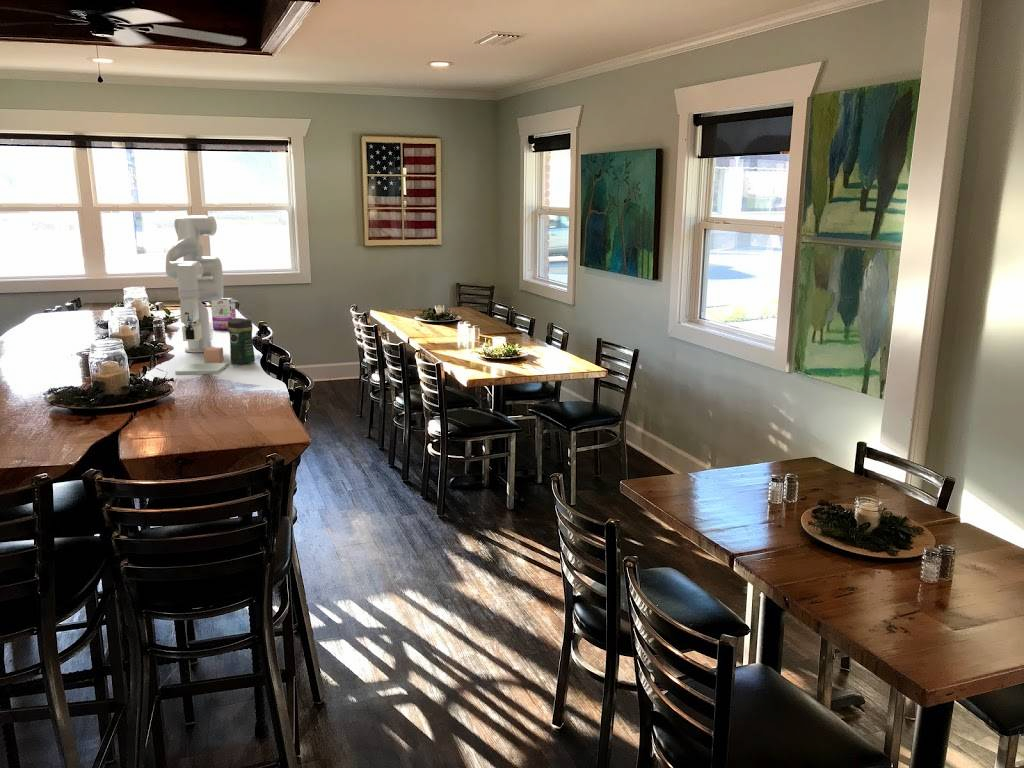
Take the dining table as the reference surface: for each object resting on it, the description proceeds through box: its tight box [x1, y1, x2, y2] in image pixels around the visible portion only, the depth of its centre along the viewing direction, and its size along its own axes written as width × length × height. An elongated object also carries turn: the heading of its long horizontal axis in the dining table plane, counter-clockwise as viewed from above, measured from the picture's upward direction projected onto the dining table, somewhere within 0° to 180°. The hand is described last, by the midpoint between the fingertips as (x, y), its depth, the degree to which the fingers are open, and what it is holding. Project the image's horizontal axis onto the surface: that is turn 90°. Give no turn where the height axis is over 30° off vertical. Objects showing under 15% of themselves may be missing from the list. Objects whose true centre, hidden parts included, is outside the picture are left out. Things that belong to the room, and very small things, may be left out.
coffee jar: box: [227, 317, 256, 365], centre depth 333 cm, size 10×8×19 cm
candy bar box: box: [210, 297, 237, 330], centre depth 419 cm, size 11×5×16 cm, turn 81°
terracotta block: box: [203, 347, 225, 363], centre depth 334 cm, size 6×6×6 cm
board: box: [175, 362, 229, 375], centre depth 320 cm, size 16×16×1 cm
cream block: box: [181, 324, 202, 342], centre depth 332 cm, size 6×6×6 cm
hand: (192, 337), depth 332 cm, fingers closed on cream block, 6 cm apart
